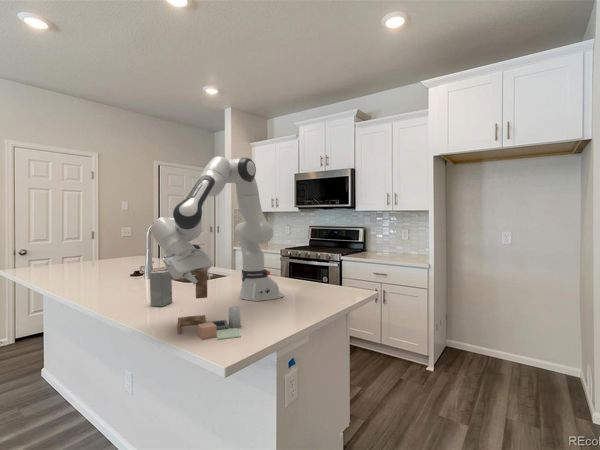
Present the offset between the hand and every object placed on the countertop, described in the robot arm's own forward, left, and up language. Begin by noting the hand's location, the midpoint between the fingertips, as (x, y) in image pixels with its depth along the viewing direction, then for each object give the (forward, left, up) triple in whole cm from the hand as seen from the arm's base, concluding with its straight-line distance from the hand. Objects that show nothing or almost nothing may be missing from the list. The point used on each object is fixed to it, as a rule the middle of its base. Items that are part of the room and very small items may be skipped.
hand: (202, 281), depth 121 cm
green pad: (-8, +7, -18) cm, 21 cm away
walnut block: (0, 0, -6) cm, 6 cm away
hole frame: (-5, -1, -18) cm, 19 cm away
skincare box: (+17, -42, -18) cm, 48 cm away
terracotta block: (-1, +6, -18) cm, 20 cm away
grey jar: (-12, -1, -18) cm, 22 cm away
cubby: (+4, -4, -18) cm, 19 cm away
